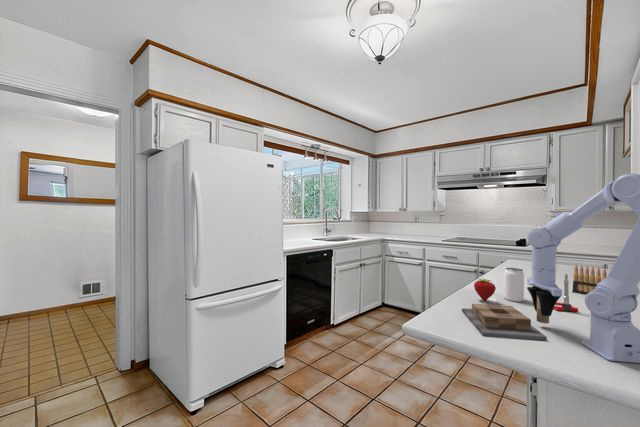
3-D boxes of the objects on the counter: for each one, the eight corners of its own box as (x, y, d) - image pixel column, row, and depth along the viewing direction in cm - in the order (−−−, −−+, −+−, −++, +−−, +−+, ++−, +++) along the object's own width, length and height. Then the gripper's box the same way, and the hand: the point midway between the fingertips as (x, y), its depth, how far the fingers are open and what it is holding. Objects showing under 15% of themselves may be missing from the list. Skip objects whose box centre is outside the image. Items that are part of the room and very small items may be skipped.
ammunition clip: (572, 292, 126) (572, 264, 126) (573, 291, 127) (573, 263, 127) (606, 298, 118) (607, 268, 118) (607, 297, 119) (608, 268, 119)
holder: (546, 340, 80) (546, 325, 80) (482, 335, 83) (482, 321, 83) (512, 314, 100) (512, 302, 100) (461, 311, 103) (461, 299, 102)
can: (504, 300, 115) (505, 269, 114) (503, 296, 120) (503, 266, 120) (524, 303, 112) (525, 271, 111) (522, 298, 117) (523, 268, 117)
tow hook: (539, 304, 112) (554, 311, 103) (539, 269, 112) (554, 274, 103) (563, 305, 111) (581, 312, 102) (563, 270, 111) (581, 275, 102)
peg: (551, 323, 87) (551, 296, 87) (539, 323, 88) (540, 296, 88) (545, 320, 90) (545, 293, 90) (534, 319, 91) (534, 293, 91)
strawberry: (492, 304, 109) (492, 277, 109) (471, 299, 115) (471, 274, 115) (497, 301, 113) (498, 275, 113) (477, 297, 119) (477, 272, 119)
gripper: (517, 263, 97) (516, 304, 97) (542, 273, 82) (541, 321, 83) (541, 264, 95) (540, 306, 96) (570, 274, 81) (570, 323, 81)
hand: (542, 313), depth 89 cm, fingers closed on peg, 3 cm apart
